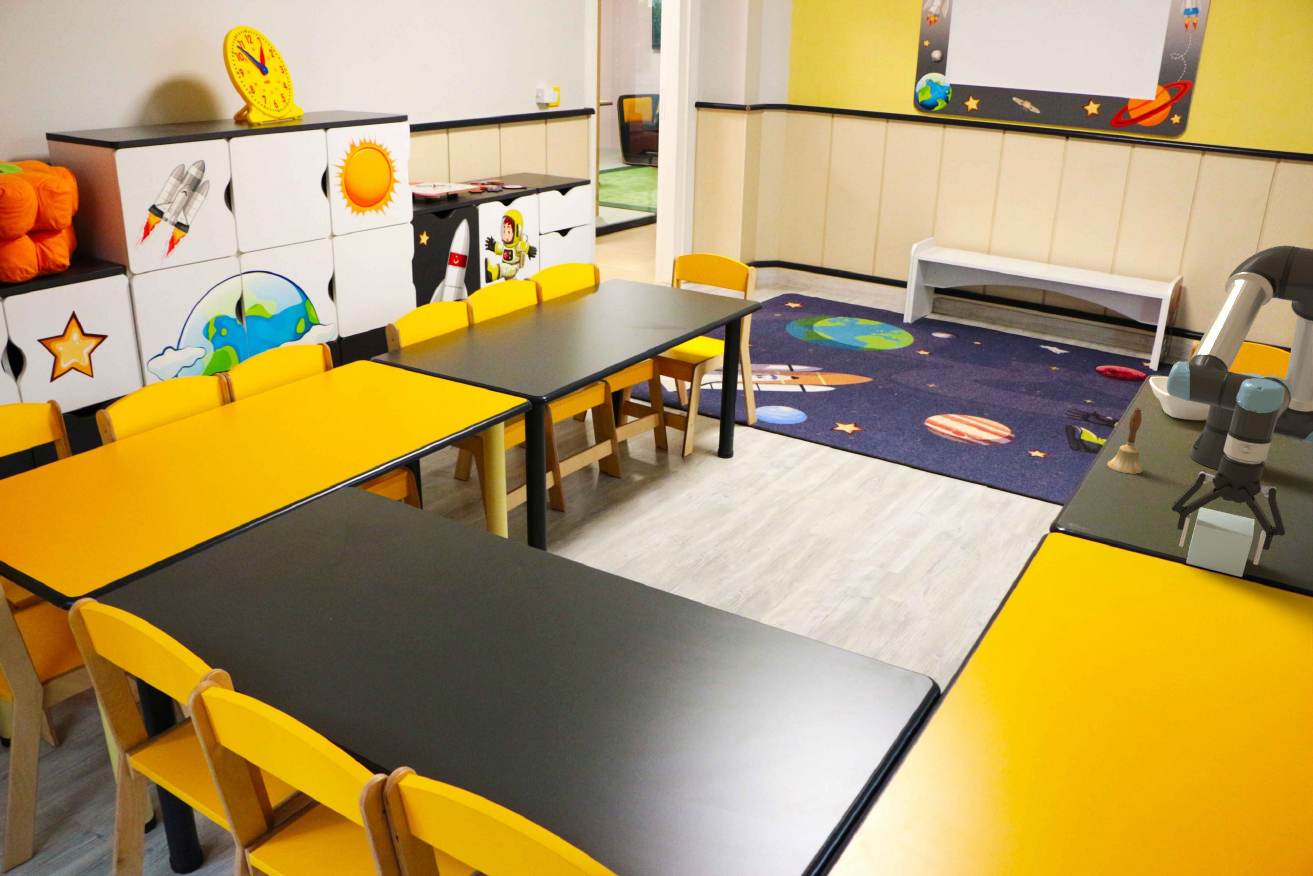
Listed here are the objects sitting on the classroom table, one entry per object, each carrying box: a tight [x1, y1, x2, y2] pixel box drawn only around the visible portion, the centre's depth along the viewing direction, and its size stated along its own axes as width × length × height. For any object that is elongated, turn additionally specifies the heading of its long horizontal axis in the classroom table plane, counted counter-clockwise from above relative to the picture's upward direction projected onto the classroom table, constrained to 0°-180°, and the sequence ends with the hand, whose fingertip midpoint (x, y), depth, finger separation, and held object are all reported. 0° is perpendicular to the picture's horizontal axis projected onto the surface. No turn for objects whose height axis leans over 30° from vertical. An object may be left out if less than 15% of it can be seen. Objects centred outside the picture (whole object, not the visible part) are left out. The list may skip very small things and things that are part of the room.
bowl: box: [1148, 376, 1210, 421], centre depth 295 cm, size 21×21×9 cm
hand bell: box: [1106, 407, 1144, 475], centre depth 254 cm, size 8×8×16 cm
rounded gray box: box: [1185, 506, 1256, 578], centre depth 209 cm, size 10×10×9 cm
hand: (1217, 553), depth 208 cm, fingers open, 13 cm apart
